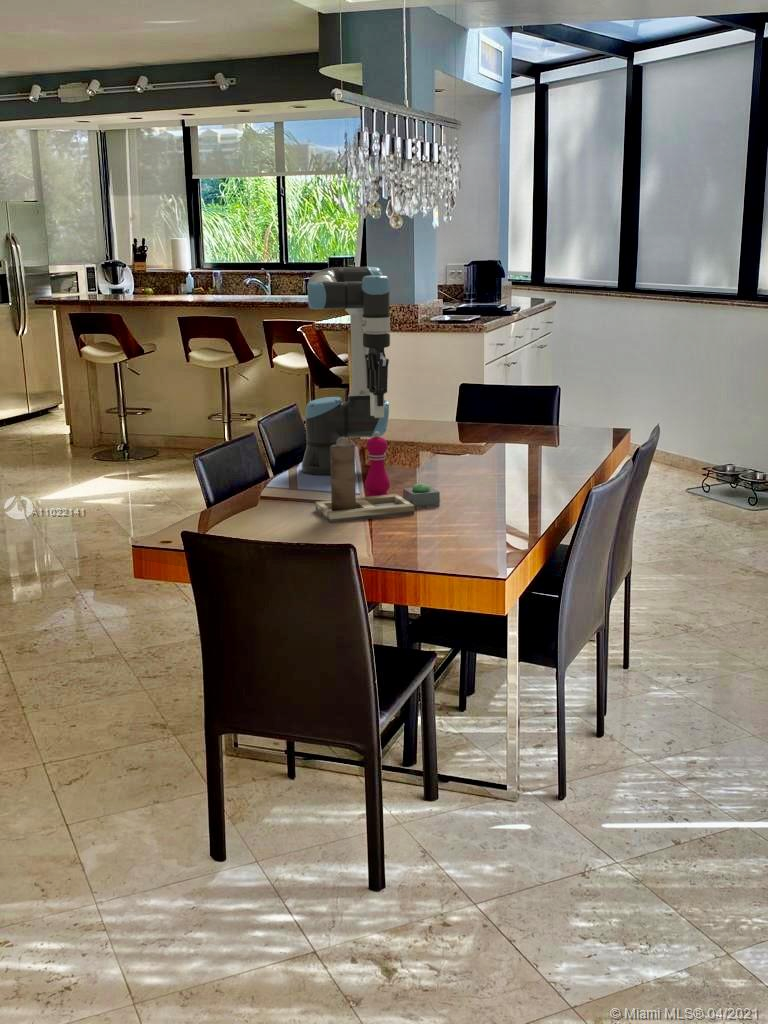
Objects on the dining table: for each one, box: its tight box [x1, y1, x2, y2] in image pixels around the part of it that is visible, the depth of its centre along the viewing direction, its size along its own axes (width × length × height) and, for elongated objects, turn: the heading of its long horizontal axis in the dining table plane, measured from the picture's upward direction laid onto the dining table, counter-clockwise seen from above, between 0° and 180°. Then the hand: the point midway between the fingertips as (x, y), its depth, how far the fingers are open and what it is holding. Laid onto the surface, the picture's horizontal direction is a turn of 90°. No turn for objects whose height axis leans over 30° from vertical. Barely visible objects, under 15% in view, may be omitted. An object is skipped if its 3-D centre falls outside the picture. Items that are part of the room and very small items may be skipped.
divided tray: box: [315, 493, 415, 524], centre depth 293 cm, size 14×24×2 cm, turn 110°
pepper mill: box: [364, 432, 391, 497], centre depth 304 cm, size 7×7×20 cm
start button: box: [412, 483, 431, 492], centre depth 301 cm, size 5×5×4 cm
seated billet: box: [330, 437, 357, 511], centre depth 289 cm, size 7×7×21 cm
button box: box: [402, 486, 441, 509], centre depth 301 cm, size 8×8×4 cm
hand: (377, 416), depth 301 cm, fingers open, 3 cm apart
